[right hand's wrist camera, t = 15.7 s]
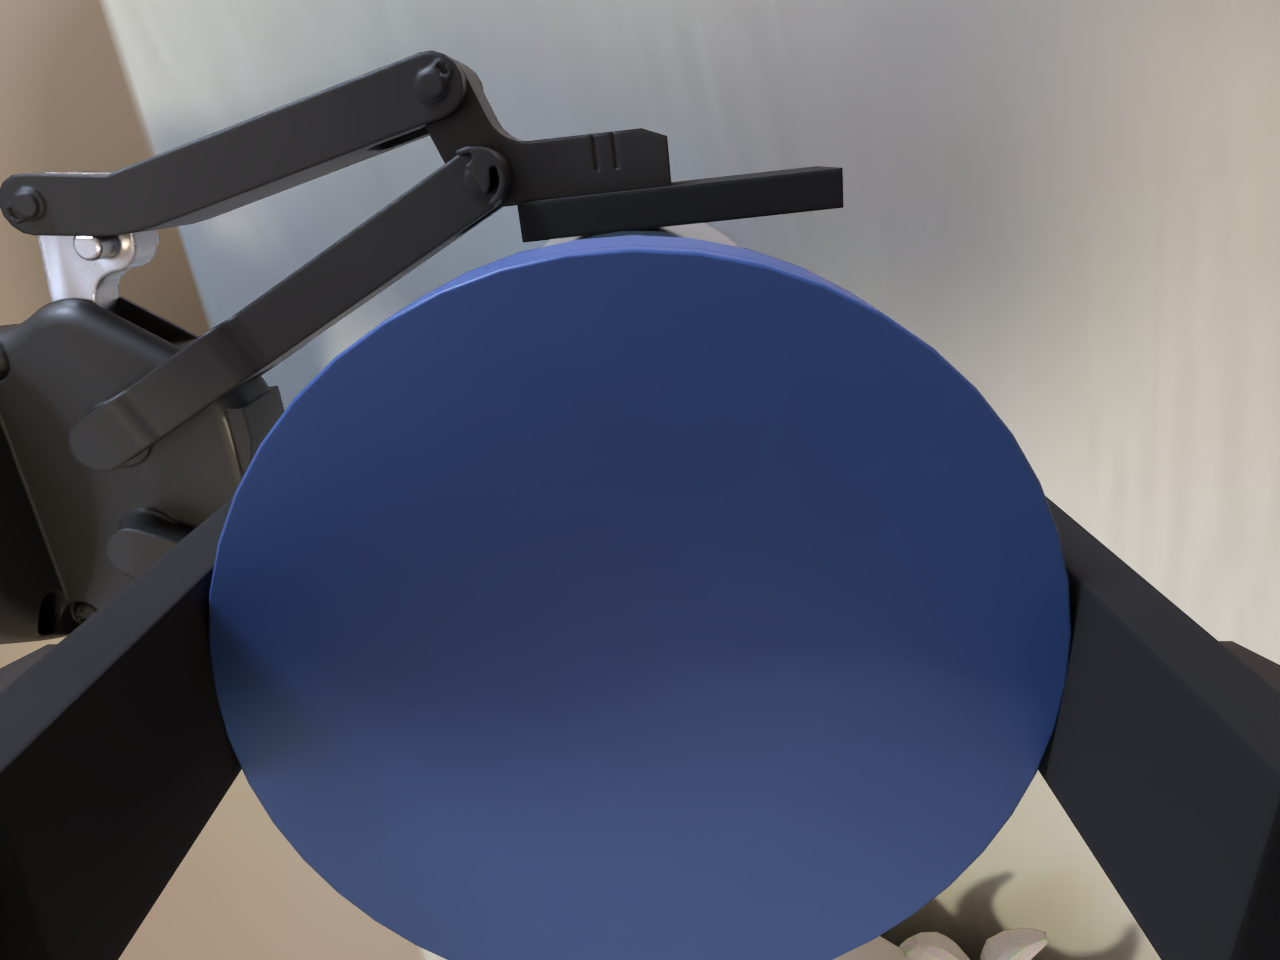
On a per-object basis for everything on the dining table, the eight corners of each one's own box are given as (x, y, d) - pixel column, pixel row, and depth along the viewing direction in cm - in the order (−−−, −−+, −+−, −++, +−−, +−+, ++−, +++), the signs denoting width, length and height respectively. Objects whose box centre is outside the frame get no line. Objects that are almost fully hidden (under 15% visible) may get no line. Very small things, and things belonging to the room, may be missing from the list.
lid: (869, 958, 14) (896, 1055, 12) (231, 835, 13) (177, 923, 12) (1146, 353, 11) (1231, 386, 9) (310, 134, 10) (250, 129, 8)
